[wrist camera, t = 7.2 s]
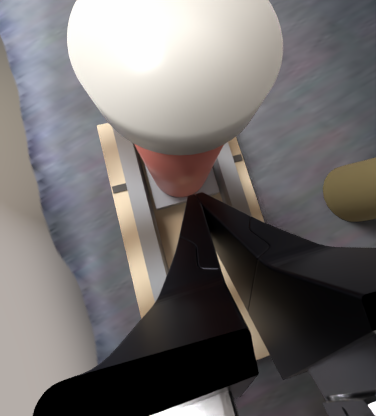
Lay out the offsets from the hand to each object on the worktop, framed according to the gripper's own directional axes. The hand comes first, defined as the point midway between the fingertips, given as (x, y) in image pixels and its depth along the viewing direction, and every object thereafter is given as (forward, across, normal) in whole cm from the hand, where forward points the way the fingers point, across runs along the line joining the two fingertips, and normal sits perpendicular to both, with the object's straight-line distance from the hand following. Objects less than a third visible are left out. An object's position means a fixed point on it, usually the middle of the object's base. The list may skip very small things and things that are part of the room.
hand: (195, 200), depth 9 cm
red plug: (+6, 0, +1) cm, 6 cm away
